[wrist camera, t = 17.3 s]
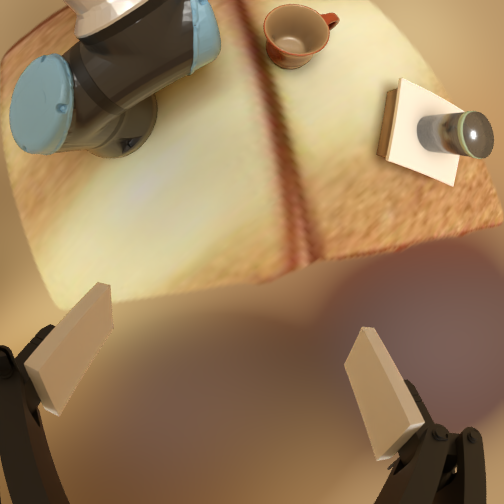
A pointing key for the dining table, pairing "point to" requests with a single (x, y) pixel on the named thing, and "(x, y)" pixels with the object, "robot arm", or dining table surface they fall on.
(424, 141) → the grey can
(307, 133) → the dining table surface
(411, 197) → the dining table surface
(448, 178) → the pedestal
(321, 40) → the mug
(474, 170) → the dining table surface
